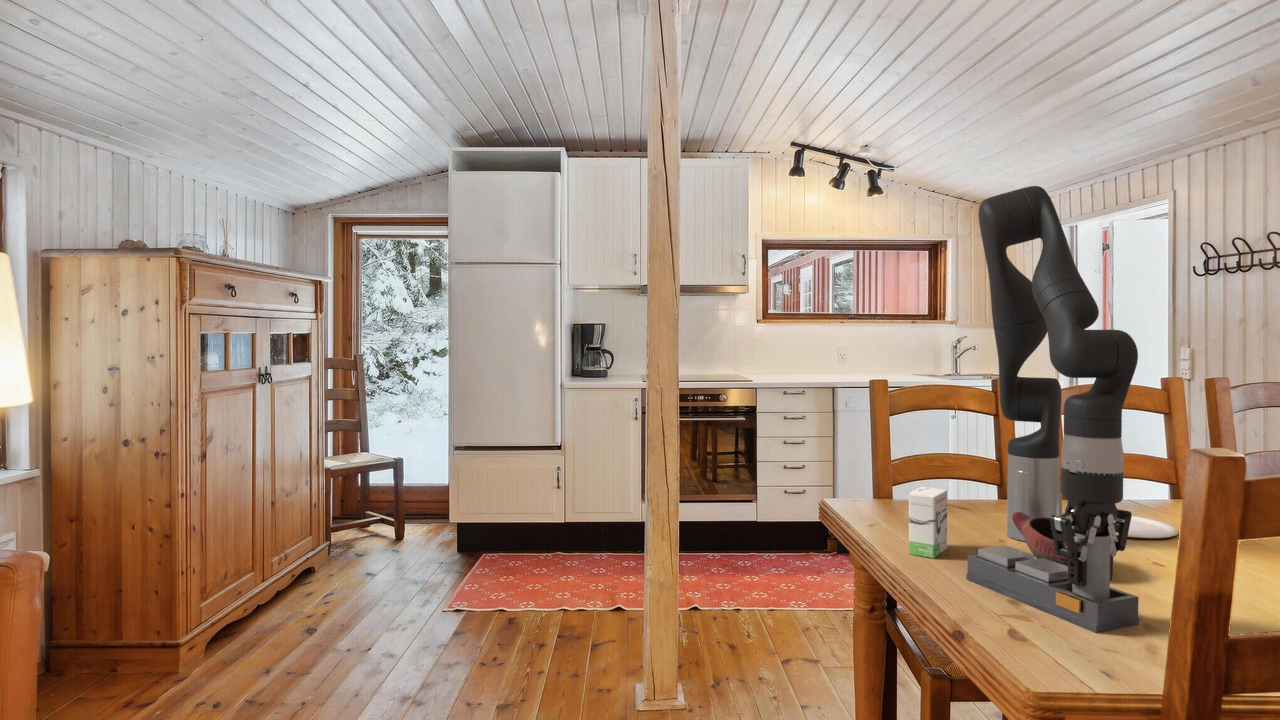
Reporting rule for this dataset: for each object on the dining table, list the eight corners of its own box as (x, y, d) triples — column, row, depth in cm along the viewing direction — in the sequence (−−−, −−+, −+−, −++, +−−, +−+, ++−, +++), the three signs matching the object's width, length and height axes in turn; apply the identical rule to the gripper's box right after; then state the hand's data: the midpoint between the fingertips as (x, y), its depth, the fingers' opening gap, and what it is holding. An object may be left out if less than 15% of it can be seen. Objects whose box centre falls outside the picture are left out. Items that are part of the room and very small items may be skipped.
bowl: (1114, 567, 120) (1114, 523, 120) (1105, 587, 110) (1106, 539, 110) (1013, 549, 130) (1014, 509, 130) (997, 566, 120) (998, 522, 120)
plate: (1193, 532, 144) (1193, 526, 144) (1156, 548, 132) (1156, 542, 132) (1085, 512, 161) (1085, 507, 161) (1044, 525, 149) (1044, 520, 149)
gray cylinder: (1064, 596, 100) (1065, 527, 99) (1093, 595, 100) (1094, 527, 100) (1087, 608, 95) (1088, 536, 95) (1117, 607, 96) (1118, 535, 95)
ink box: (934, 559, 124) (935, 496, 124) (907, 554, 128) (907, 493, 127) (947, 548, 131) (948, 489, 131) (921, 544, 134) (922, 485, 134)
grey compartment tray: (964, 579, 114) (965, 547, 114) (1004, 573, 117) (1005, 542, 116) (1094, 633, 92) (1094, 594, 92) (1139, 624, 95) (1139, 586, 95)
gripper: (1101, 459, 103) (1100, 568, 103) (1032, 465, 98) (1030, 579, 99) (1152, 467, 96) (1151, 585, 96) (1080, 474, 91) (1079, 598, 92)
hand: (1090, 581), depth 98 cm, fingers open, 4 cm apart
